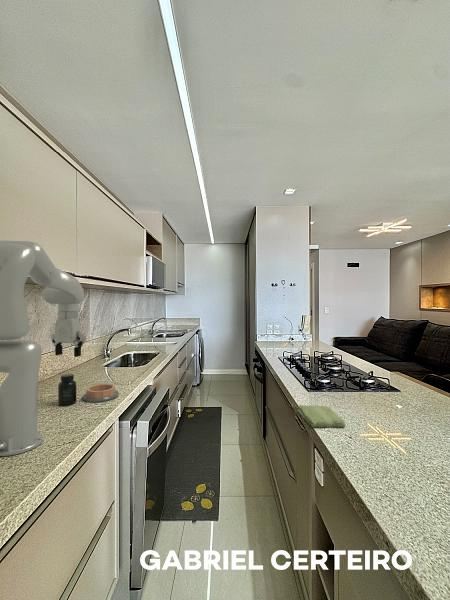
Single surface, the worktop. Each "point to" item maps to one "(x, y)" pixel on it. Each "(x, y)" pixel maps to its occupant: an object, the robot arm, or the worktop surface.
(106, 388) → the bottle holder
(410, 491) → the worktop surface
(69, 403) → the supplement bottle
